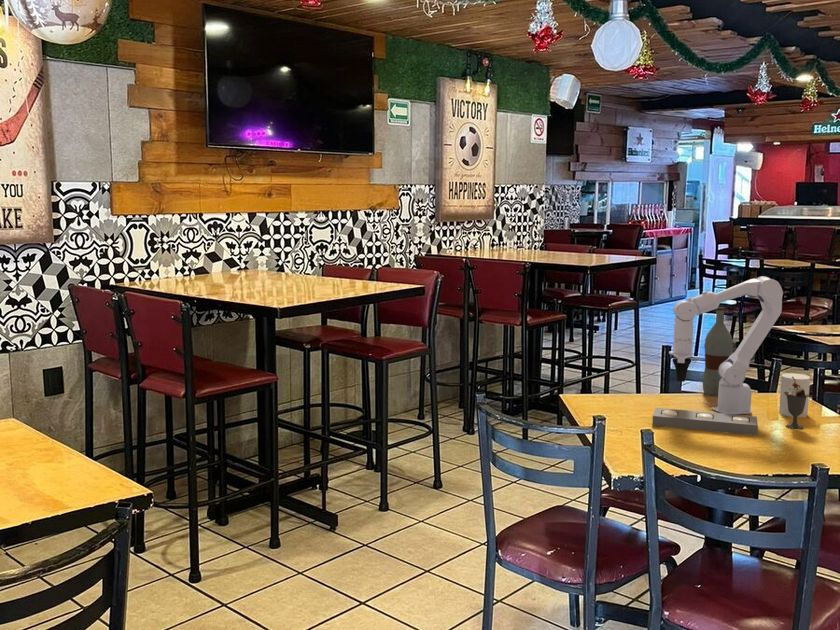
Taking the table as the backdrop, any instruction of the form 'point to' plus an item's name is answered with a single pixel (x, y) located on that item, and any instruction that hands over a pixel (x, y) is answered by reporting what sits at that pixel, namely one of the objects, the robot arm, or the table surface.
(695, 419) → the control strip
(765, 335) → the robot arm
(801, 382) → the cup
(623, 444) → the table surface
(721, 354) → the bottle
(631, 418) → the table surface
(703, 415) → the button mid
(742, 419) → the button
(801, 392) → the sundae
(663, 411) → the button
